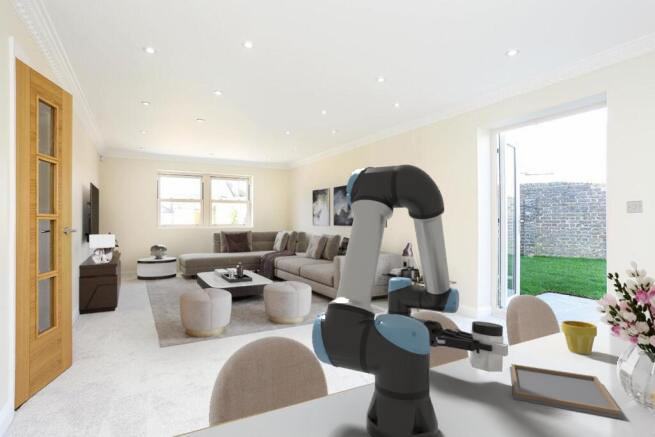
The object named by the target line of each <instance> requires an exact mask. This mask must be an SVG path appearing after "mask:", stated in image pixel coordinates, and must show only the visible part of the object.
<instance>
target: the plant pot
mask: <svg viewBox="0 0 655 437" xmlns="http://www.w3.org/2000/svg"><path fill="white" fill-rule="evenodd" d="M561 331H562V332H563V334H564V337H565V341H566V345H567V349H569V350H570V352H571V351H572V352H571V353H573V354H579V355H590V354H592V350H593V346H594V341H595V337H597V334H598V328H597V325H596V324H593V323H592V322H588V321H579V320H563V321H561ZM569 350H568V351H569Z"/></svg>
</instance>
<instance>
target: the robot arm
mask: <svg viewBox="0 0 655 437" xmlns="http://www.w3.org/2000/svg"><path fill="white" fill-rule="evenodd" d="M439 188H440V187H439V186H438V185H437V184H436V182H435V181H434V179H433V178H432V177H431V176H430V175H429V174H428V173H427V172H426V171H424V170H423V169H422V168H419V167H418V166H415V165H412V164H399V165H388V166H376V167H375V166H367V167H364V168H363V167H362V168H358V169H355V171H353V172H352V173H351V175H350V177H349V178H348V181H347V185H346V192H347V193H346V196H345V197H346V200H347V203H348V205H349V206H350V209H351V210H350V211H351V213H353V214H354V217H353V221H352V226H351V230H350V234H349V238H348V243H347V248H346V252H345V256H344V257H345V258H344V260H343V261H344V262H343V264H342V265H343V266H342V270H341V274H340V279H339V284H338V288H337V293H336V297H335V298H334V299H333V300H331V301H330V302H329V303H328V304H327V309H326V311H323V312H320V313H318V315H317V317H316V318H315V319H314V321H313V322H314V323H313V326H312V332H311V342H312V343H311V344H312V347H313V351H314V354H315V356H316V358H317V359H318V360H319V361H320V362H322V363H324V364H326V365H330V366H332V367H335V368H341V369H347V370H351V371H356V372H361V373H364V374H369V375H373V376H374V390H373V394H372V397H371V400H370V402H369V406H368V408H367V411H366V421H365V422H366V429H367V431H368V433H369V435H370V436H371V437H438V436H439V423H438V417H437V415H436V411H435V407H434V404H433V402H432V398H431V395H430V394H431V393H430V390H431V389H430V383H431V381H430V380H431V378H430V377H431V375H430V374H431V373H430V372H431V370H430V369H431V364H430V363H431V350H432V349H431V347H432V348H437V347H446V348H447V347H448V348H451V349H452V348H453V349H457V350H464V351H469V352H470V351H474V350H476V353H480V351H485V352H489V353H493V354H497V355H501V356H503V357H507V356H509V344H507V343H504V342H503V343H498V342H494V341H489V342H488V341H486V340H485V341H484V340H481V341H478V340H474V339H473V337H472V336H471V333H470V332H466V331H463V330H461V329H458V328H456V329H454V330H453V329H451V328H445V329H444V328H443V325H442V324H441V323H440V321H436V320H431V319H426V318H422V317H416V316H412V309H414V310H421V311H422V310H423V311H431V312H437V313H442V314H446V313H447V314H456V313H457V312H458V310H459V308H460V307H459V306H460V292H459V290H458V289H457V288H453V287H451V283H450V282H451V281H450V274H449V267H448V261H447V260H448V259H447V251H446V243H445V242H446V241H445V235H444V234H445V233H444V226H443V219H442V217H443V216H442V215H443V214H444V213H445V203H444V197H443V195H442V193H441V190H440V189H439ZM402 208H405V209H407V212H408V213H407V214H408V217H409V218H410V219H412V220H413V225H414V232H415V238H416V244H417V249H418V256H419V261H420V262H419V263H420V267H421V272H422V273H421V274H422V279H423V285H420V284H417V285H416V284H413V282H412V278H409V277H404V276H403V277H402V276H401V277H400V276H399V277H398V276H396V277H395V276H394V277H391V278H389V280H388V289H387V294H388V295H387V300H388V301H387V305H388V306H387V311H386V312H384V313H382V314H379V315H376V313H375V311H374V310H373V307H372V306H371V302H372V298H373V293H374V289H375V288H374V286H375V283H376V282H375V281H376V275H377V271H378V265H379V261H380V260H379V259H380V255H381V254H380V253H381V248H382V243H383V238H384V233H385V232H384V231H385V228H386V227H385V226H386V221H388V220H390V219H391V218H392V217H393V213H394V209H402Z"/></svg>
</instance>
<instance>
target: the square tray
mask: <svg viewBox="0 0 655 437" xmlns="http://www.w3.org/2000/svg"><path fill="white" fill-rule="evenodd" d="M510 365H511V366H509V372H510V379H511V380H510V381H511V389H512V396H513V397H512V398H513V400H516V401H520V402H521V401H522V402H528V403H532V404H538V405H542V406H543V405H544V406H550V407H554V408H560V409H563V410H564V409H566V410H571V411H576V412H581V413H587V414H593V415H598V416H603V417H609V418H614V419H620V420H624V415H623V414H622V411H621V409H620V408H619V406H617V404H616V403H615V401H614V400H613V398H612V397H611V395H610V394H609V392H608V391H607V389H606V388H605V387H604V385H603V384H602V382H601V381H600V379H599V378H598V377H597V376H596V375H589V374H583V373H577V372H576V373H574V372H569V371H562V370H555V369H549V368H541V367H536V366H528V365H523V364H514V363H511V364H510Z"/></svg>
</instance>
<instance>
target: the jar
mask: <svg viewBox="0 0 655 437" xmlns="http://www.w3.org/2000/svg"><path fill="white" fill-rule="evenodd" d="M470 332H471V336H472V337H473V339H474V340H478V341H481V340H484V341H485V340H486V341H488V342H489V341H494V342H498V343H503V344H504V336H503V335H504V334H503V332H504V326H503V325H501V324H498V323H493V322H489V321H488V322H487V321H481V320H480V321H479V320H477V321H472V323H471V331H470ZM469 352H470V354H469V363H470V365H471V367H472V368H475V369H478V370H481V371H485V372H488V373H489V372H492V373H493V372H503V363H504V362H503V361H504V356H501V355H497V354H493V353H489V352H485V351H480V353H476V350H474V351H469Z"/></svg>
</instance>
